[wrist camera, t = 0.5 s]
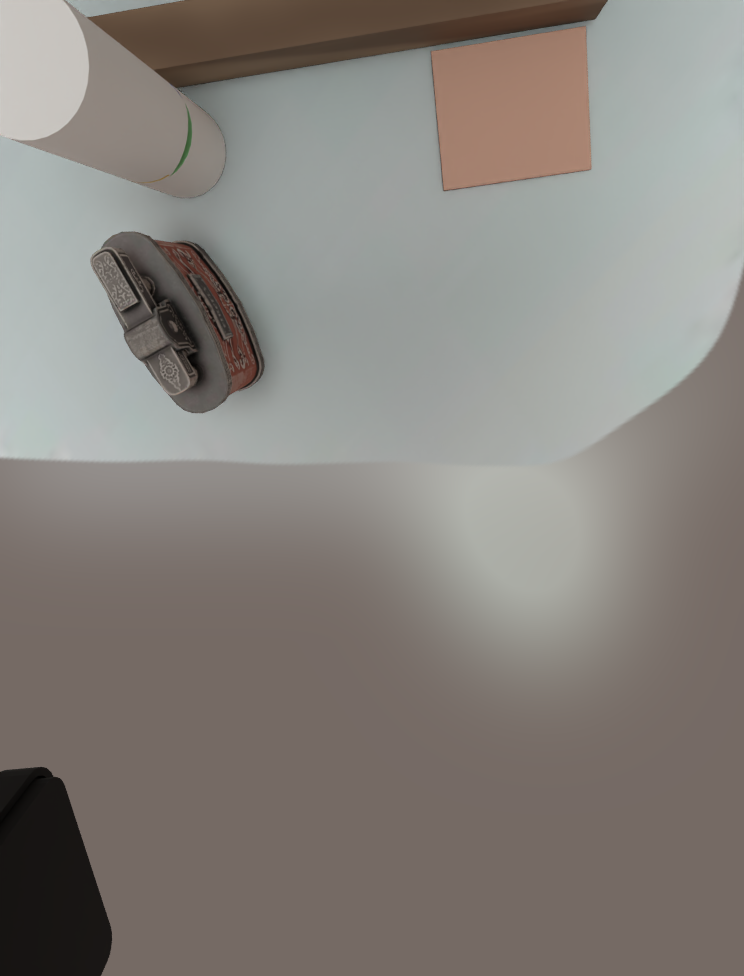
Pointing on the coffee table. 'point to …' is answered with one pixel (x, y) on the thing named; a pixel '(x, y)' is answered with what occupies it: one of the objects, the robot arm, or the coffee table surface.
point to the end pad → (513, 108)
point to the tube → (100, 102)
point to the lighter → (180, 318)
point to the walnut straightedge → (313, 31)
